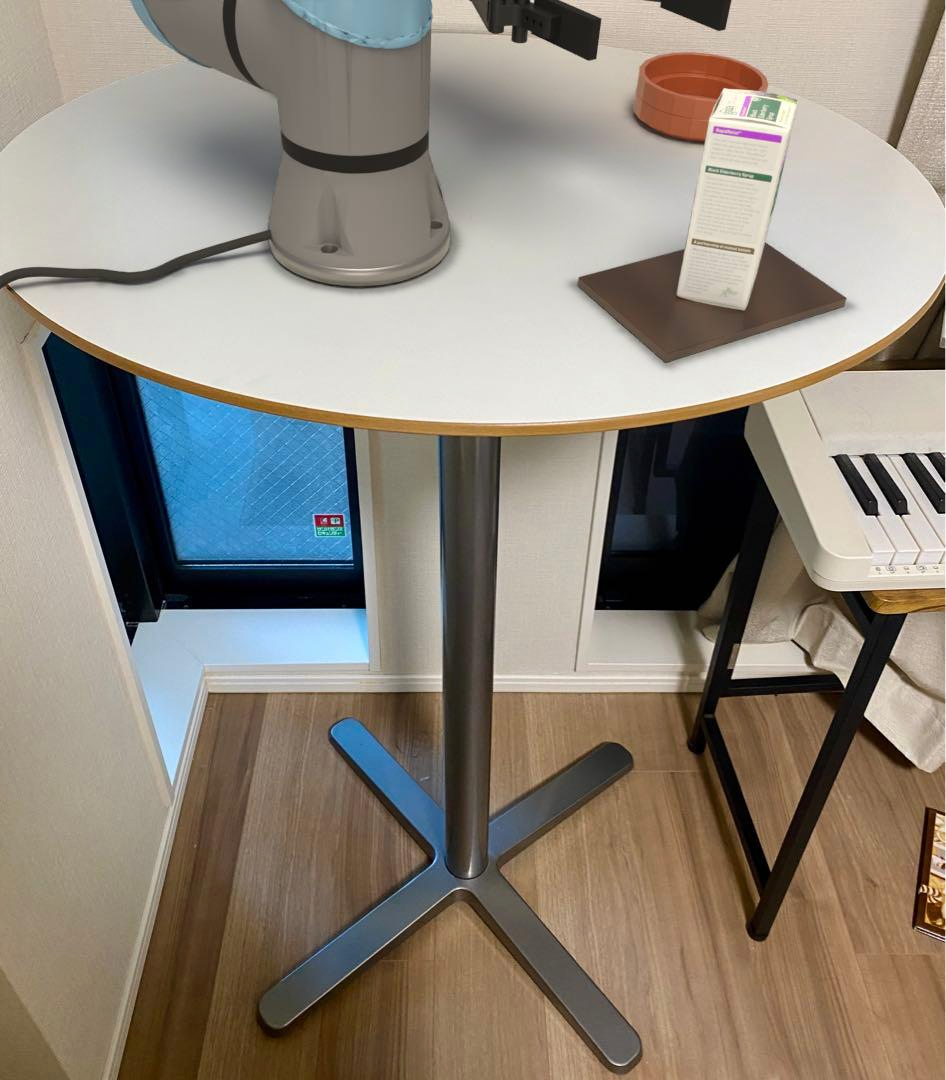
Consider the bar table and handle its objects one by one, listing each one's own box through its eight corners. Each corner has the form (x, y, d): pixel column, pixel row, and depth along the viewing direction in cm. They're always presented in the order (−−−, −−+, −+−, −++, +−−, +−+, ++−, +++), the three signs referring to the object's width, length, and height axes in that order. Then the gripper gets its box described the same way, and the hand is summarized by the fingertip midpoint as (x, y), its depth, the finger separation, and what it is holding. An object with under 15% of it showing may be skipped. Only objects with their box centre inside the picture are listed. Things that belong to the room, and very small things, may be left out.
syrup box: (746, 312, 77) (796, 127, 67) (672, 297, 79) (709, 113, 68) (755, 277, 81) (804, 96, 71) (684, 263, 82) (721, 83, 72)
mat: (665, 363, 74) (667, 353, 73) (577, 285, 81) (578, 276, 80) (844, 306, 80) (847, 297, 80) (747, 239, 87) (749, 231, 87)
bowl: (683, 154, 99) (691, 109, 96) (608, 106, 107) (614, 62, 104) (783, 132, 104) (794, 88, 101) (704, 87, 112) (713, 45, 109)
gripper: (591, -19, 93) (762, 51, 82) (366, 21, 82) (528, 109, 70) (602, -113, 88) (787, -53, 76) (364, -84, 77) (538, -8, 65)
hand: (663, 25), depth 73 cm, fingers open, 13 cm apart
